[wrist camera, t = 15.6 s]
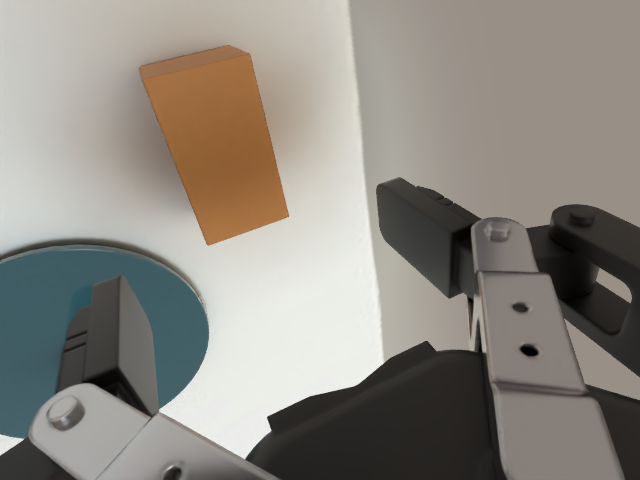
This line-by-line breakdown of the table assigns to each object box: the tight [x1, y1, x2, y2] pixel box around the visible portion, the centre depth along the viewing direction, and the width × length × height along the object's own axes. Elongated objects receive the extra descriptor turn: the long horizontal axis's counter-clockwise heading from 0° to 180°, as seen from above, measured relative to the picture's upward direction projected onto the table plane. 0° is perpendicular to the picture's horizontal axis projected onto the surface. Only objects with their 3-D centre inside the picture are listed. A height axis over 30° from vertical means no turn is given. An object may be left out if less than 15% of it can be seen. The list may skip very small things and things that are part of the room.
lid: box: [0, 245, 209, 439], centre depth 22 cm, size 14×14×7 cm
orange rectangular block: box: [139, 45, 289, 246], centre depth 20 cm, size 8×4×4 cm, turn 10°
